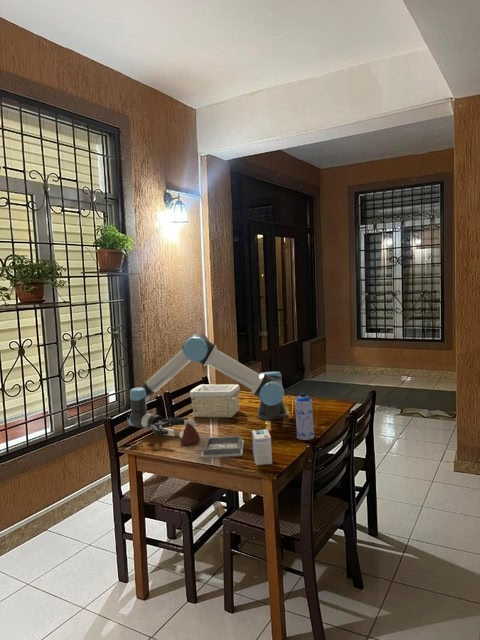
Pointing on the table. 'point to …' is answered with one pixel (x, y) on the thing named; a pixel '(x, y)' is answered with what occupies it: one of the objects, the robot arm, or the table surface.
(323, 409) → the table surface
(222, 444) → the mousse holder
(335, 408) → the table surface
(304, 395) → the aerosol can
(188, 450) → the table surface
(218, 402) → the storage basket
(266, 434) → the light bulb box
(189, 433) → the poop emoji
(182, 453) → the table surface
